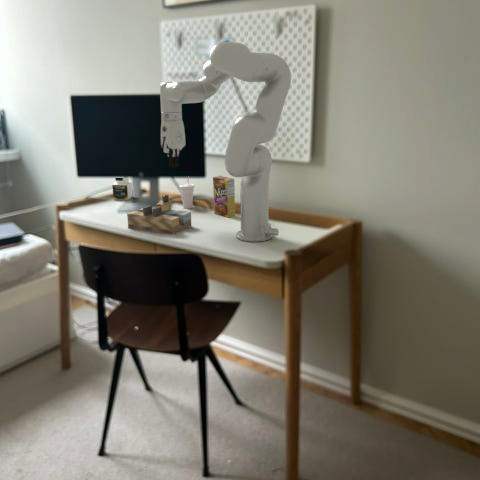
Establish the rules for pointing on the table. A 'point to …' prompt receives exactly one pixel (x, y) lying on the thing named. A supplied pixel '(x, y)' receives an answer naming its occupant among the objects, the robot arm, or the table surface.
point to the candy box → (224, 196)
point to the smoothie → (187, 194)
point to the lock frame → (159, 220)
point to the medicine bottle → (122, 189)
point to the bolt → (164, 203)
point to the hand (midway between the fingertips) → (173, 166)
